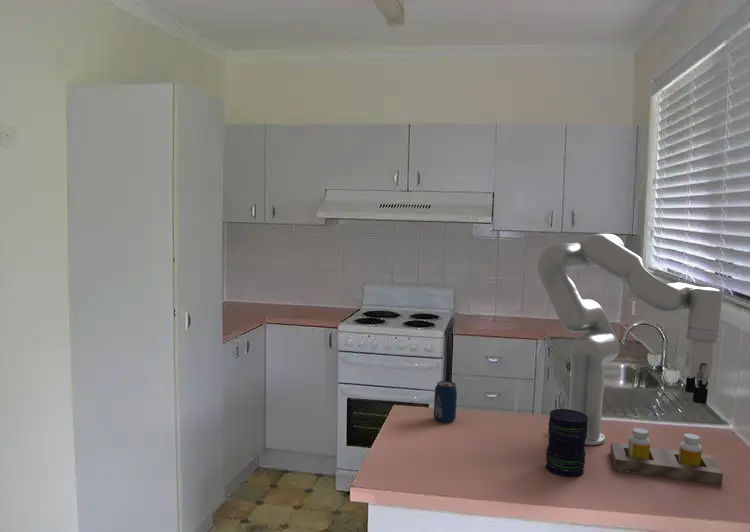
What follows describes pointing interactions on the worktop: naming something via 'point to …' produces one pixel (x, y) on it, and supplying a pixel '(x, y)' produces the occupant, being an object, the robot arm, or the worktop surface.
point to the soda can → (445, 402)
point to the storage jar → (566, 443)
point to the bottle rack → (666, 465)
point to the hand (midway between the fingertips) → (695, 397)
